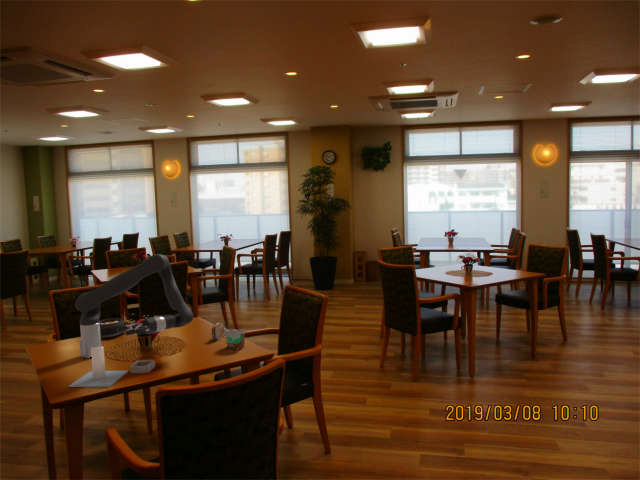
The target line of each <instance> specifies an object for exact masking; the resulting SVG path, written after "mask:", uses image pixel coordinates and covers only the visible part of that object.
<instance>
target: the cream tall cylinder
mask: <svg viewBox="0 0 640 480" xmlns="http://www.w3.org/2000/svg"><path fill="white" fill-rule="evenodd" d="M91 357H92V358H91V369H92V370H91V371H93V379H94V380H100V379H103V378H105V377H106V375H105V371H106V365H105V364H106V363H105V361H106V360H105V349H104V346H103V345H101V346H94V347H92V348H91Z"/></svg>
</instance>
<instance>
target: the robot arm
mask: <svg viewBox="0 0 640 480" xmlns="http://www.w3.org/2000/svg"><path fill="white" fill-rule="evenodd" d="M172 270H173V269H172V266H171V264H170V260H169V258H168V257H167V255H165V254H161V253H157V254H156V253H154V254H152V255H151V256H149V257H147V258H146V259H144V260H143V261H142V262H140V263H139V264H137V265H136V266H133V267H131V268H128V269H127V270H125V271H123V272H121V273H119V274H117V275H115V276H113V277H112V278H111V279H108V281H105V282H104V283H103V284H102V285H100V286H99V287H98V288H95V289H94V290H91V291H87V292H85V293H83V294H81V295H79V296H78V297H77V299H76V300H75V303H74V305H75V306H74V307H75V308H76V310H78V311H79V312H81V316H80V318H79V326H80V339H79V349H80V358H84V357H85V358H84V359H91V358H90V357H91V348H92V347H94V346H102V338H101V334H100V322H99V321H100V318H101V303H103V302H105V301H107V300H110V299H112V298H114V297H117V296H119V295H121V294H123V293H125V292H127V291H128V290H131V289H132V288H134V287H135V286H136V285H137V284H138V283H139V282H141V280H143V279H144V278H146V277H148V276H151V275H152V274H153V275H154V274H155V273H158V276H160V279H161V280H162V283H163V288H164V294H165V296H166V299H167V301H168V304H169V305H170V308H171V309H172V310H175V311H176V312H177V313H176V314H171V313H170V314H165V315H156V316H153V317H152V316H151V317H147V318H143V319H142V321H141V322H137V321H136V322H130V323H125V324H124V326H122V327H118V328H117V331H118V332H122V331H125V332H124V333H125V336H131V335H138V336H139V335H143V334H145V335H150V334H154V333H157V332H162V331H164V330H169V329H172V328H173V329H174V328H175V329H177V328H182V327H185V326H187V325H189V324H190V323H192V322H193V320H194V313H193V311H192V309H191V308H190V307H189V306H188V304H187V303H186V302H185V301H184V298H183V296H182V293H181V291H180V290H179V287H178V285H177V282H176V280H175V277H174V274H173V271H172Z"/></svg>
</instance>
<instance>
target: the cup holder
mask: <svg viewBox="0 0 640 480" xmlns="http://www.w3.org/2000/svg"><path fill="white" fill-rule="evenodd" d="M154 368H156V361H155V360H153V359H151V360H149V359H147V360H135V362H133V363H132V364H131V365H130V366H129V373H131V374H147V373H150V372H151V371H152V370H153V369H154Z"/></svg>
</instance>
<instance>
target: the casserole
mask: <svg viewBox="0 0 640 480" xmlns="http://www.w3.org/2000/svg"><path fill="white" fill-rule="evenodd" d="M123 321H124V319H123V318H119V317H117V318H116V317H115V318H114V317H113V318H105V319H102V320H99V322H100V334H101V339H105V338H113V337H116V336H119V335H121V334H122V333H126V332H125V331H122V332H118V331H117V328H118V327H122V326H125V324H124V323H123Z"/></svg>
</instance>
